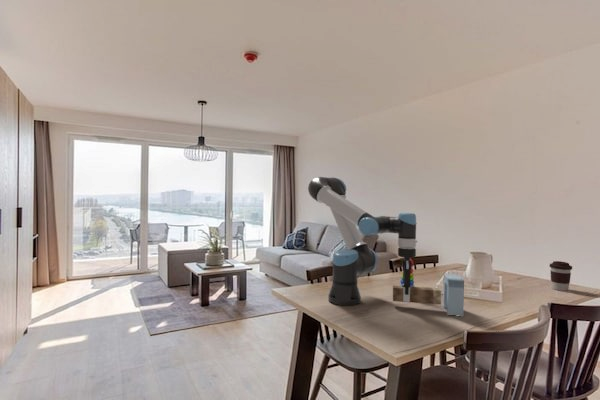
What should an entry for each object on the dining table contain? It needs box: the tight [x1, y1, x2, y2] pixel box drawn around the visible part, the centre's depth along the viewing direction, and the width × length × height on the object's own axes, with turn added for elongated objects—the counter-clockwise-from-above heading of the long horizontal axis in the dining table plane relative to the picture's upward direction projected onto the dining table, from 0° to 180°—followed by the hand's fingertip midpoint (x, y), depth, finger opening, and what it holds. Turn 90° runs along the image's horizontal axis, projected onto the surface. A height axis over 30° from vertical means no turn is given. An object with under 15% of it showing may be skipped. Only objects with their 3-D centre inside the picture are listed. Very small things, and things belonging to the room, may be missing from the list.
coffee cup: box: [549, 260, 573, 292], centre depth 188 cm, size 10×10×15 cm
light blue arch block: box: [442, 273, 465, 317], centre depth 148 cm, size 6×12×15 cm, turn 166°
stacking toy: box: [399, 258, 415, 287], centre depth 171 cm, size 8×8×19 cm
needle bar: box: [392, 284, 442, 305], centre depth 152 cm, size 20×4×6 cm, turn 76°
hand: (406, 299), depth 153 cm, fingers closed on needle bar, 4 cm apart
